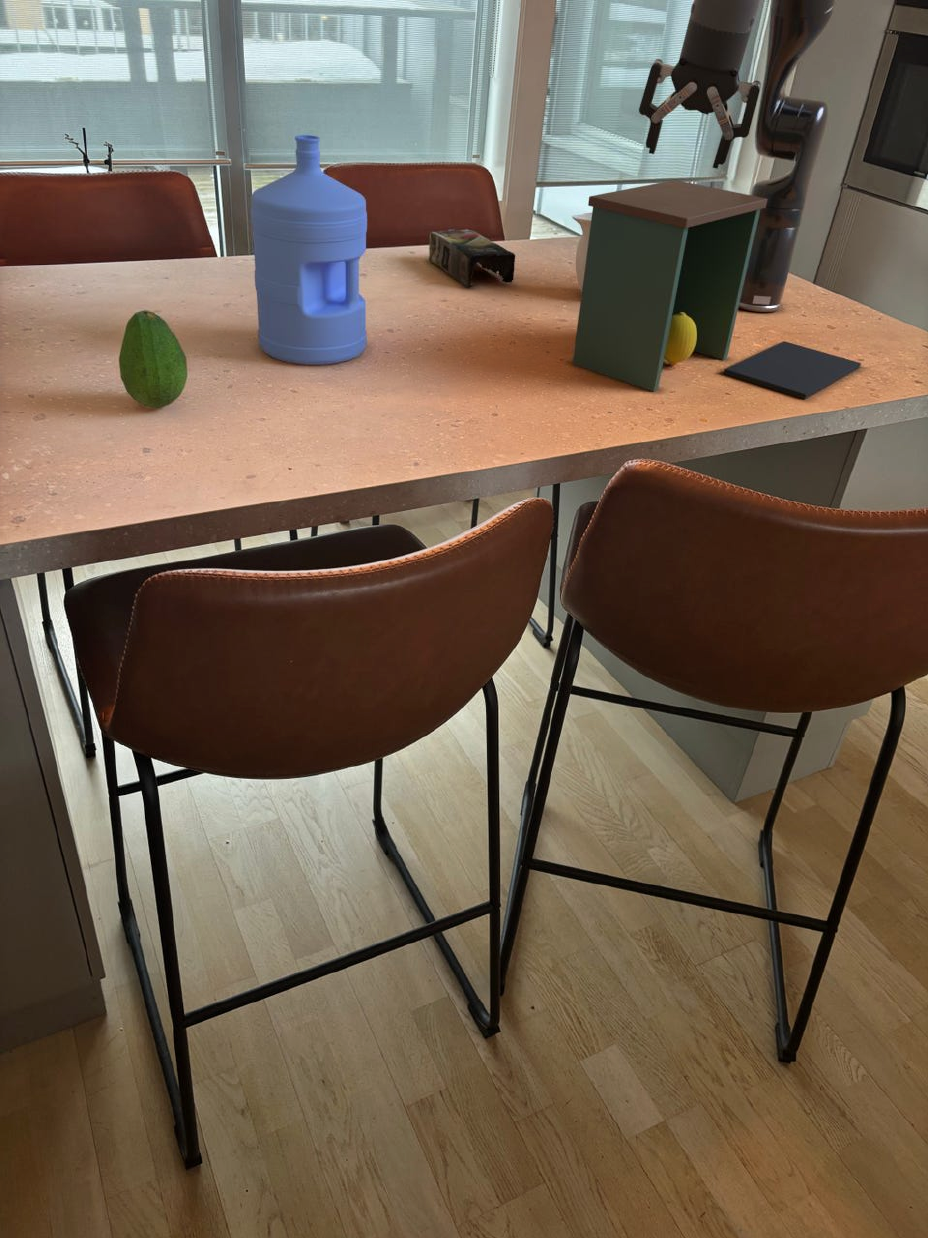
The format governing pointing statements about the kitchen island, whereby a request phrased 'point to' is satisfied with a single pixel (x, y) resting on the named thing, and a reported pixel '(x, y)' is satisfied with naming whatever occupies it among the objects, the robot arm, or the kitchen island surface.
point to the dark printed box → (469, 255)
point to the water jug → (309, 264)
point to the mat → (793, 369)
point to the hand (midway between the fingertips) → (683, 158)
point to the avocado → (152, 361)
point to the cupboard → (661, 274)
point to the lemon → (680, 339)
